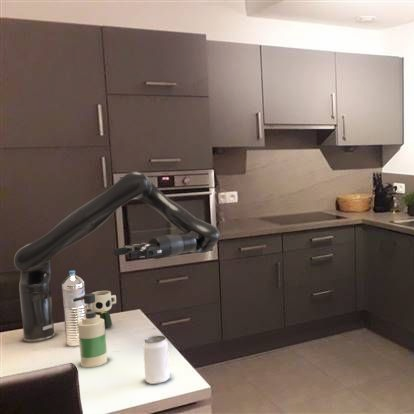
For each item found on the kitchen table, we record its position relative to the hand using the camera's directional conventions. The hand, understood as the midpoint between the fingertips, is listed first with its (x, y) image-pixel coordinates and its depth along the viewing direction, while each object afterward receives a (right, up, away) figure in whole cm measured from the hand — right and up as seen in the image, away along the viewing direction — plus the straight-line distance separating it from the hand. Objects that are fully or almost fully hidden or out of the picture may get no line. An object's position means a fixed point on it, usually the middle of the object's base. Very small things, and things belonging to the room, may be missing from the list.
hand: (120, 254), depth 174 cm
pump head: (-7, -16, -9) cm, 20 cm away
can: (+19, -34, -19) cm, 44 cm away
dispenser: (-5, -33, -6) cm, 34 cm away
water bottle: (-20, -31, +11) cm, 39 cm away
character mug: (-19, -30, +27) cm, 44 cm away
